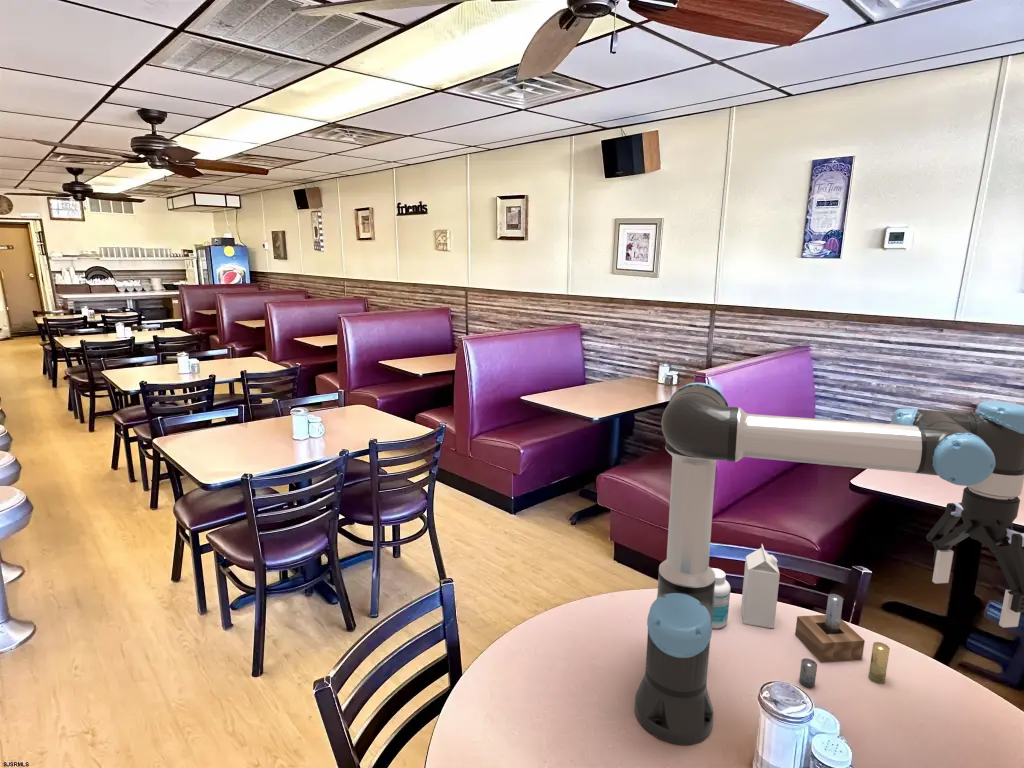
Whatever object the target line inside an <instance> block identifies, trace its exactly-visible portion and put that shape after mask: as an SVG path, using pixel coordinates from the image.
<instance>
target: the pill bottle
mask: <svg viewBox="0 0 1024 768" xmlns="http://www.w3.org/2000/svg"><path fill="white" fill-rule="evenodd" d="M710 568H711V569H712V570H713V571H714V573H715V589H714V593H715V603H714V608H713V615H712V629H717V630H718V629H723V628H725V627H726V626H727V624H728V620H729V609H730V608H729V607H730V597H731V585H730V583H729V582H728V581H727V579H726V575H727V574H726V572H725V571H723V570H722V569H720V568H714V567H710Z"/></svg>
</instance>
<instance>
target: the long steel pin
mask: <svg viewBox="0 0 1024 768" xmlns="http://www.w3.org/2000/svg"><path fill="white" fill-rule="evenodd" d="M827 596H828V597H827V605H826V612H825V615H826V618H825V626H824V632H825V633H826V634H839V627H840V619H842V610H843V604H844V598H843V597H842V596H841V595H839V594H836V593H830V594H828V595H827Z"/></svg>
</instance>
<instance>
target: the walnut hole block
mask: <svg viewBox="0 0 1024 768" xmlns="http://www.w3.org/2000/svg"><path fill="white" fill-rule="evenodd" d="M825 618H826V614H820V615H819V614H818V615H817V614H816V615H815V614H813V615H802V616H801V615H797V616H796V622H795V623H796V624H795V632H794V633H795V634H794V635H795V636H796V637H797V638H798V639H799V640H800V641H801V643H802V644H803V645H804V646H805V647H806V648H807V650H808V651H810V653H811V655H813V656H814V657H815V658H816V659H817V660H818V662H820V663H833V662H835V663H836V662H850V661H851V662H852V661H862V660H863V656H864V648H865V639H864V638H862V637H861V636H860V635H859V633H857V632H856V631H855V630H854V629H853V628H851V626H849V624H848V623H846V622H845V621H844V620H843V619H842V618H841V619H840V627H839V634H826V633H825V632H824V626H825Z"/></svg>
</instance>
